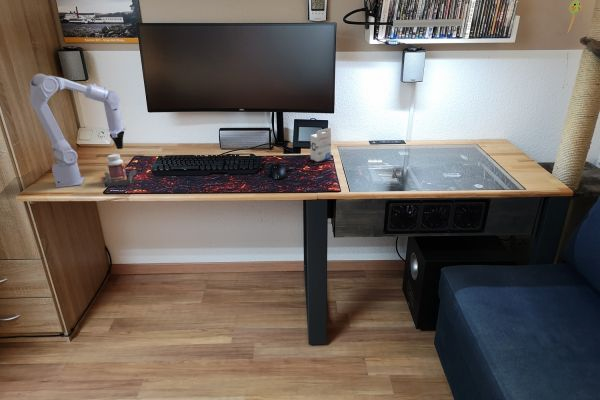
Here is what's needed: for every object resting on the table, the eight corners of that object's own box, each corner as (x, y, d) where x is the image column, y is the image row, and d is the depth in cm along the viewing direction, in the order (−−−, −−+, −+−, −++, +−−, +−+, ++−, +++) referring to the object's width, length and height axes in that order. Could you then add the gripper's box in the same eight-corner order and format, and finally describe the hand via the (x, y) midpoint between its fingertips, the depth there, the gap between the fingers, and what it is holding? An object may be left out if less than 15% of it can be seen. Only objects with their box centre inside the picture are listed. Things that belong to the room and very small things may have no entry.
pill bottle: (128, 180, 183) (123, 155, 179) (113, 184, 180) (107, 158, 176) (125, 177, 188) (119, 152, 184) (110, 180, 185) (104, 155, 181)
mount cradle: (101, 187, 179) (99, 182, 178) (105, 176, 189) (104, 171, 188) (134, 184, 181) (133, 178, 180) (136, 173, 192) (135, 168, 191)
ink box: (324, 155, 210) (324, 125, 203) (331, 157, 206) (331, 127, 200) (310, 159, 205) (310, 128, 199) (316, 161, 202) (316, 130, 195)
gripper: (121, 122, 183) (127, 153, 189) (125, 113, 196) (131, 142, 202) (103, 123, 182) (110, 154, 188) (109, 114, 195) (115, 144, 201)
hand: (120, 148), depth 195 cm, fingers closed
